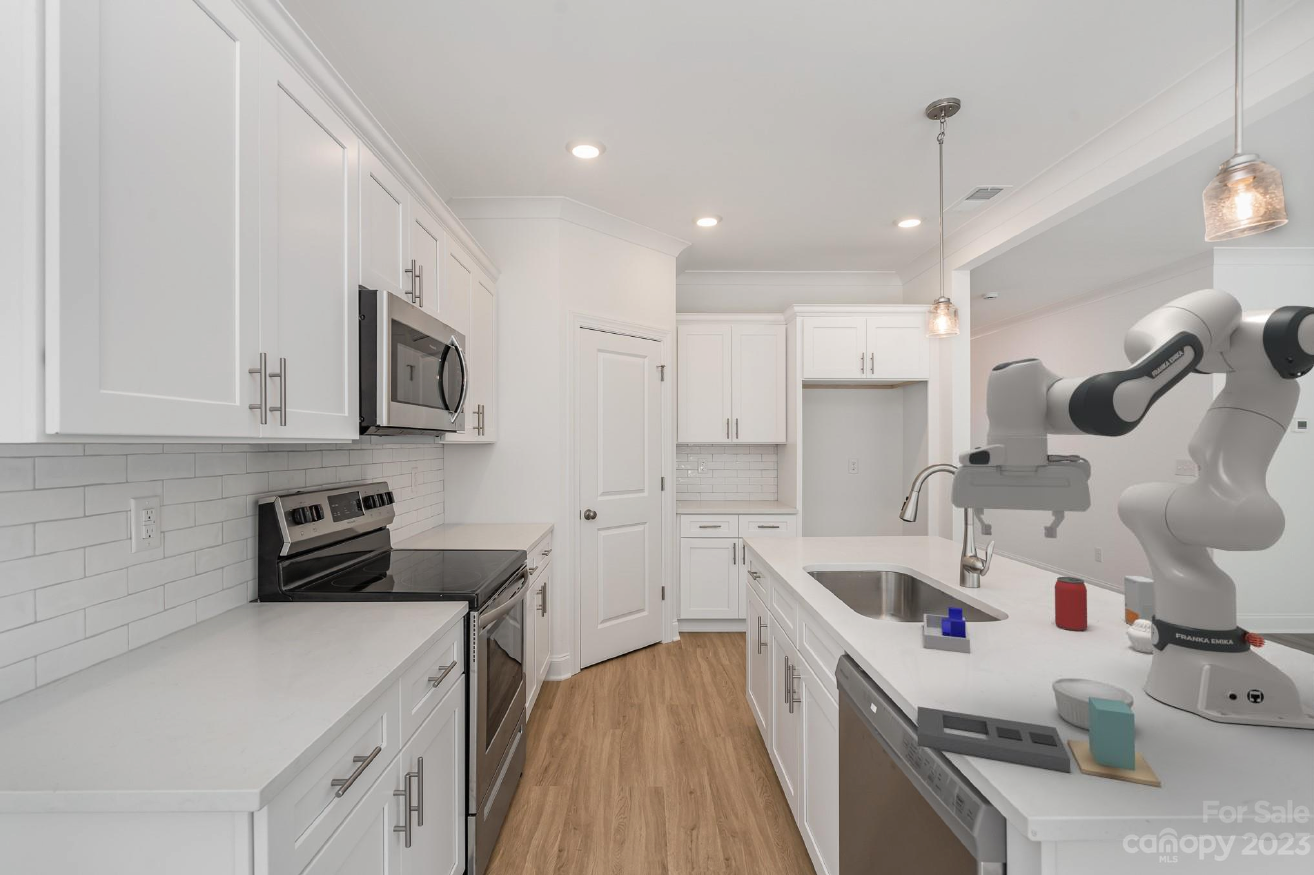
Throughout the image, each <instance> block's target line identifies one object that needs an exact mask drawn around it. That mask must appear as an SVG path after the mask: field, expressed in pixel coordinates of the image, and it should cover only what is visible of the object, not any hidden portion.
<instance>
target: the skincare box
mask: <svg viewBox="0 0 1314 875" xmlns="http://www.w3.org/2000/svg"><path fill="white" fill-rule="evenodd" d="M1123 577H1124V622H1125V623H1126V624H1129V626H1130V625H1131V626H1132V625H1133V624H1134V621H1135V620H1138V619H1141V620H1142V619H1144V620H1148V621H1150V622H1152V615H1154V614H1155V602H1154V583H1153V579H1151V578H1149V577H1144V576H1142V575H1124V576H1123Z"/></svg>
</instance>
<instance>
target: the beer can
mask: <svg viewBox="0 0 1314 875" xmlns="http://www.w3.org/2000/svg"><path fill="white" fill-rule="evenodd" d="M1054 621H1055V622H1054V624H1055V625H1056V626H1057V627H1059V628H1060V629H1063V630H1067V631H1073V632H1081V631H1082V632H1083V631H1085V630H1087V628H1088V589H1087V586H1086V585H1085V581H1084V579H1081V578H1079V577H1078V578H1077V577H1071V576H1059V577H1057V578H1056V581H1055V584H1054Z"/></svg>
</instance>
